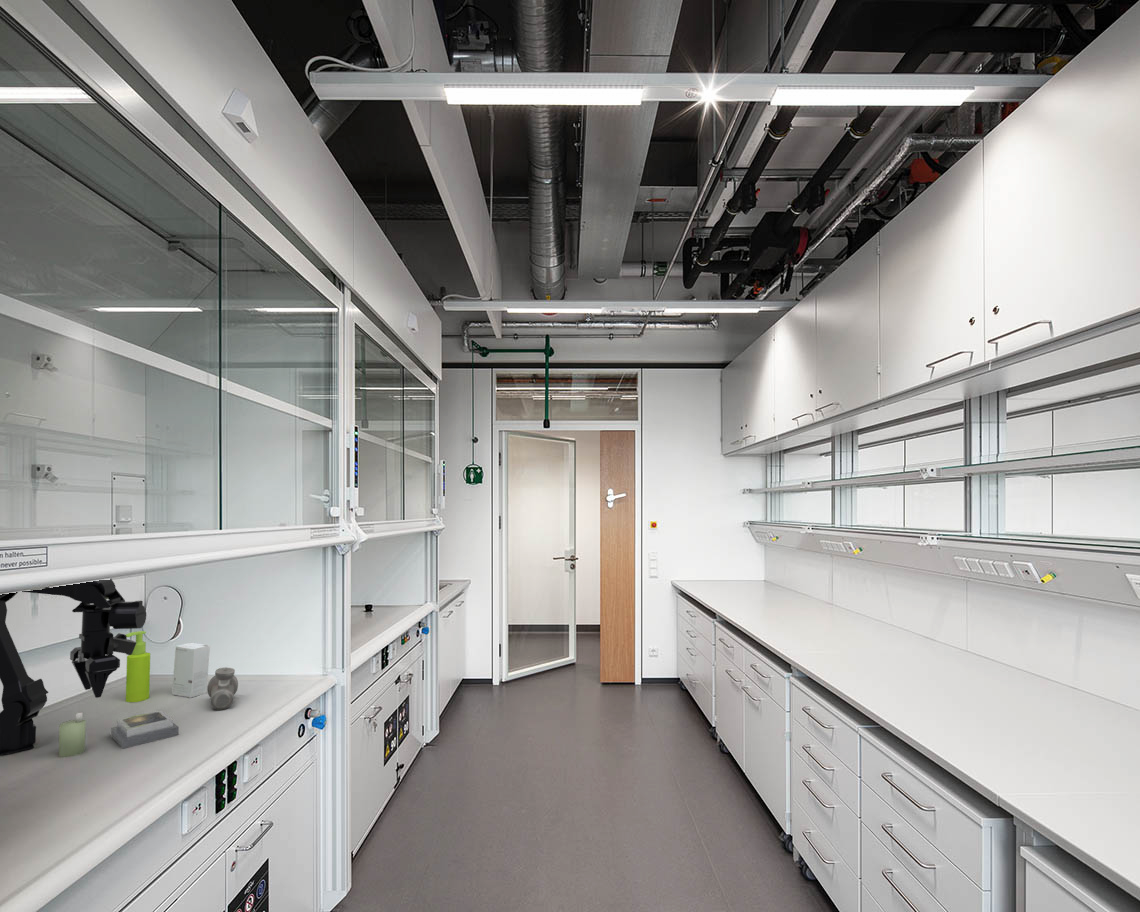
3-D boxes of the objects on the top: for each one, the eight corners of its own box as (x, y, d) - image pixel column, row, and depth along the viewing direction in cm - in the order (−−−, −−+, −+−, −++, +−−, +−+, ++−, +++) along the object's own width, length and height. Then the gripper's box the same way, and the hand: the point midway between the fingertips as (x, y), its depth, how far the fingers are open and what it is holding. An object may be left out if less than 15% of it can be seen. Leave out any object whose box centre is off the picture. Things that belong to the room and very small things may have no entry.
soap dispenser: (117, 701, 194) (119, 633, 195) (142, 694, 200) (143, 628, 201) (129, 704, 191) (130, 635, 192) (153, 697, 197) (155, 630, 198)
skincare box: (171, 695, 199) (172, 646, 200) (189, 689, 205) (190, 641, 206) (192, 698, 196) (193, 648, 197) (209, 692, 202) (210, 643, 203)
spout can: (60, 759, 152) (61, 719, 153) (56, 753, 156) (57, 714, 156) (86, 752, 156) (88, 714, 156) (82, 747, 159) (83, 709, 160)
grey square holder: (122, 748, 158) (123, 731, 159) (110, 735, 167) (111, 719, 167) (178, 734, 167) (178, 719, 167) (164, 723, 175) (164, 708, 175)
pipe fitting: (206, 698, 194) (210, 664, 194) (236, 697, 198) (240, 663, 198) (203, 716, 183) (207, 680, 183) (235, 714, 187) (239, 678, 187)
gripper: (145, 630, 163) (142, 693, 162) (122, 619, 175) (119, 678, 174) (91, 637, 154) (88, 704, 153) (71, 625, 166) (68, 688, 166)
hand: (92, 693), depth 162 cm, fingers open, 9 cm apart
